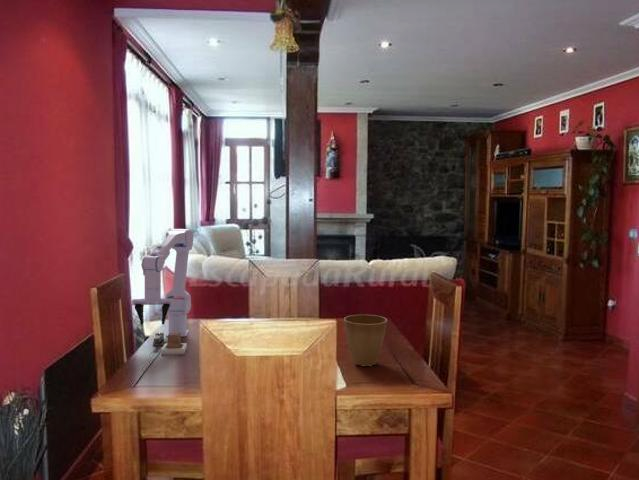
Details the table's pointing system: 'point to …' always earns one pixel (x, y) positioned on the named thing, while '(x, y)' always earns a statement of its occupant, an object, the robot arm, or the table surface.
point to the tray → (173, 350)
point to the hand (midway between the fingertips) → (152, 323)
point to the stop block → (174, 340)
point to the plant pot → (365, 337)
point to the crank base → (161, 343)
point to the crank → (159, 338)
